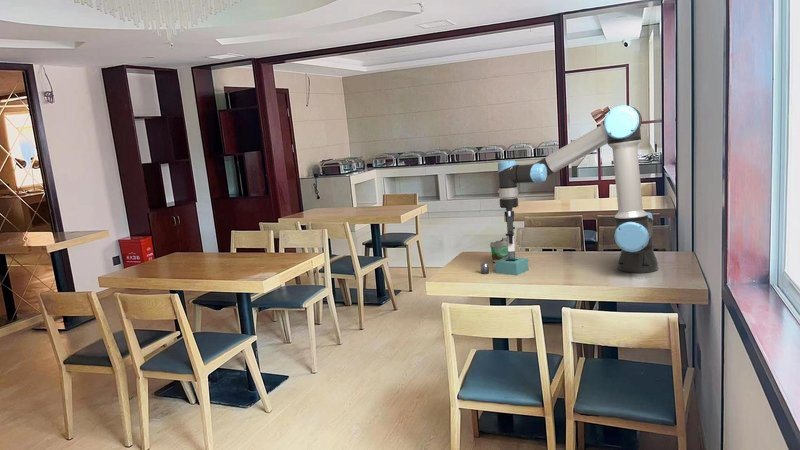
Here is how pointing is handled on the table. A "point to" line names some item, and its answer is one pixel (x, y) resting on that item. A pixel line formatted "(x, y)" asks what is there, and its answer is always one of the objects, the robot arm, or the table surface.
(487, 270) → the short pin
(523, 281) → the table surface
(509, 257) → the long pin
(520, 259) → the drilled block
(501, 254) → the food container
